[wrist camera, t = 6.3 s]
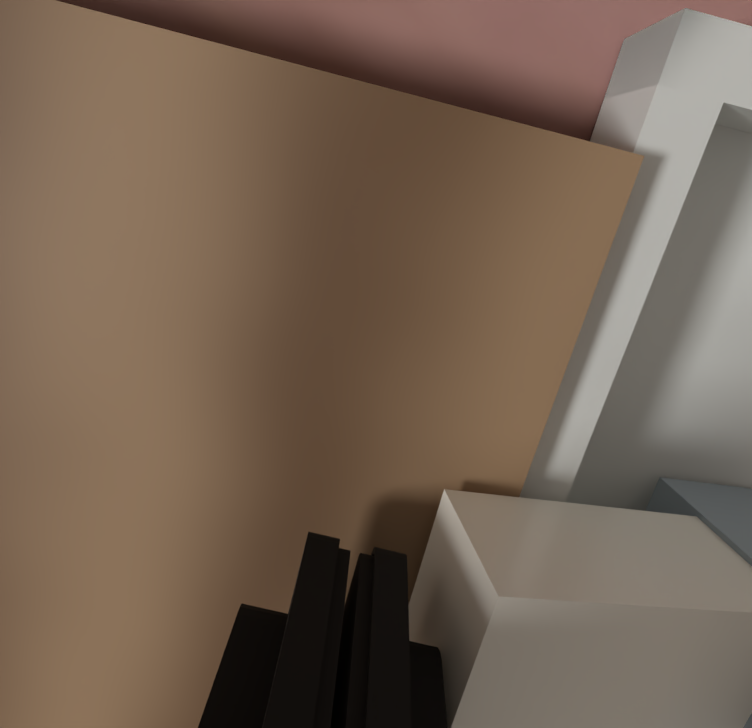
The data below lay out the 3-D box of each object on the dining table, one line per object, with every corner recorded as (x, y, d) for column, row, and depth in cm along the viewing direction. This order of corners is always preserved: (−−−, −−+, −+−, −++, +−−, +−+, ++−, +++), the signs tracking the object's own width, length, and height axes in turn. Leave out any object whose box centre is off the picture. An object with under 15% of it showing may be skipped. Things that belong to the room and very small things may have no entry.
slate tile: (659, 477, 13) (759, 489, 13) (577, 666, 14) (669, 670, 15) (892, 683, 8) (1027, 686, 9) (732, 929, 10) (857, 917, 10)
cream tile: (697, 516, 12) (806, 616, 9) (602, 716, 13) (676, 843, 11) (443, 488, 10) (498, 596, 8) (374, 714, 12) (404, 856, 10)
